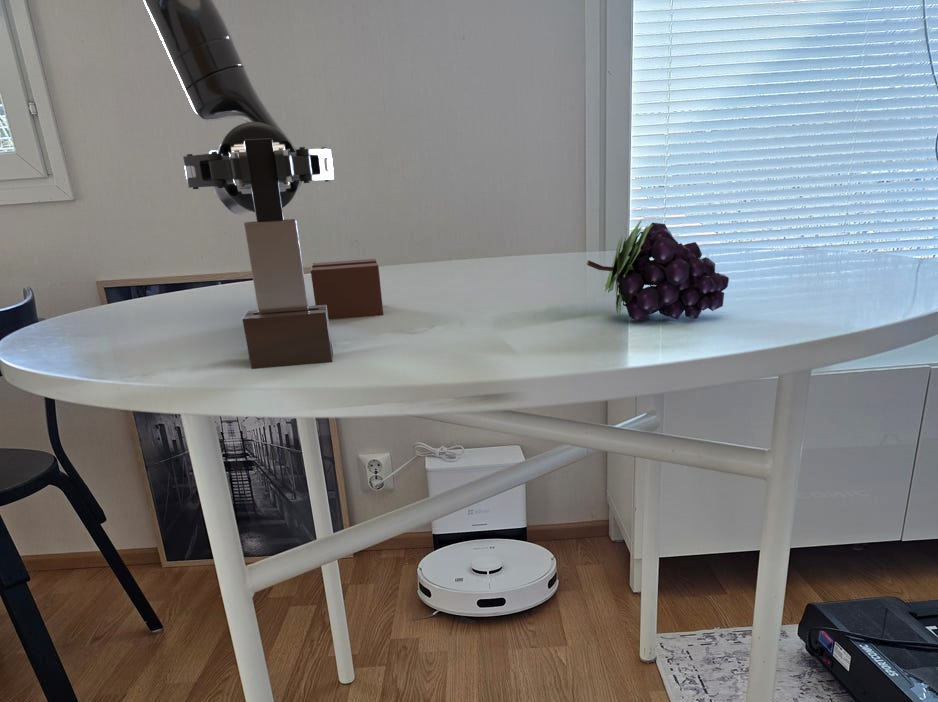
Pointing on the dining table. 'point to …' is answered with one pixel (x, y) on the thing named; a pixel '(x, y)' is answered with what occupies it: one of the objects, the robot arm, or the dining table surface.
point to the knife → (272, 238)
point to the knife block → (288, 338)
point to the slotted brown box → (348, 288)
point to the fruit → (663, 276)
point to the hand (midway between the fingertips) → (263, 166)
